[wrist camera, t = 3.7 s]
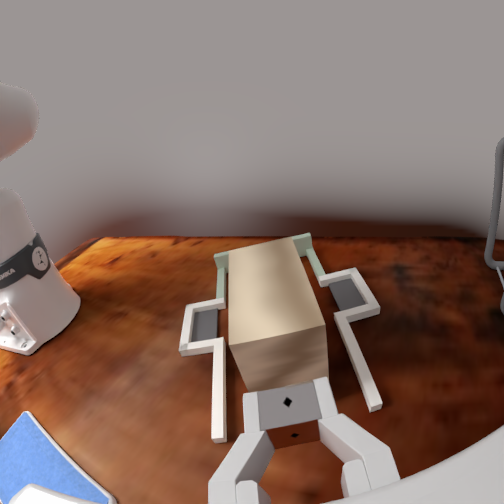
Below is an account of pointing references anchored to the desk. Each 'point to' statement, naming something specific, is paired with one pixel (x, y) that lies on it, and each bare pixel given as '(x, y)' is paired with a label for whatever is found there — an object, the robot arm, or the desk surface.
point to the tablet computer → (42, 465)
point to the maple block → (274, 317)
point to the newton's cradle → (496, 215)
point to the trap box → (351, 309)
